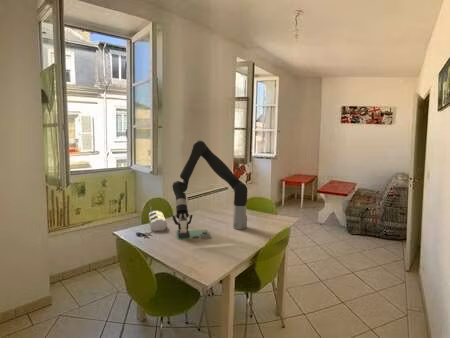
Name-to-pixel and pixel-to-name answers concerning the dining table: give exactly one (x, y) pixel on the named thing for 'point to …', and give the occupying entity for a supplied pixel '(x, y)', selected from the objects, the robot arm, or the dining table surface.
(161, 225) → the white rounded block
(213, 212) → the dining table surface
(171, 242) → the dining table surface
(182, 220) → the plug
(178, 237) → the board
